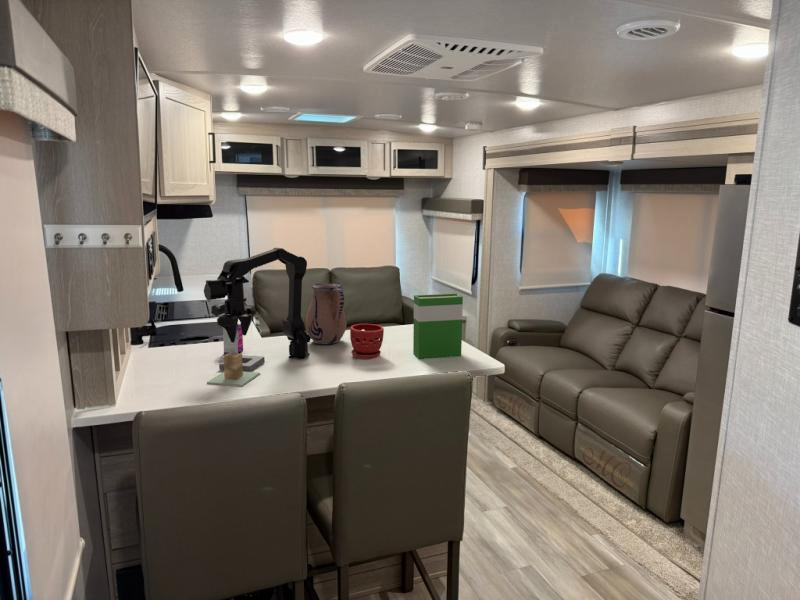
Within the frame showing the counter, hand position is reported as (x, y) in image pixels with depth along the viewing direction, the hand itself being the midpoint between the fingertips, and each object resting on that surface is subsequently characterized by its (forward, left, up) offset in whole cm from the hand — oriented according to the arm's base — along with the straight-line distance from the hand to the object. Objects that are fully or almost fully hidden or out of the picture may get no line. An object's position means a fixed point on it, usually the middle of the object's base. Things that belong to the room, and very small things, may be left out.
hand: (238, 338), depth 196 cm
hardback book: (-68, -33, -12) cm, 76 cm away
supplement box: (+13, -20, -12) cm, 27 cm away
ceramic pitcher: (-20, -42, -12) cm, 48 cm away
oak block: (-3, +10, -11) cm, 15 cm away
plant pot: (-41, -26, -12) cm, 50 cm away
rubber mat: (-3, +10, -12) cm, 16 cm away
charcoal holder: (+1, -4, -12) cm, 12 cm away
